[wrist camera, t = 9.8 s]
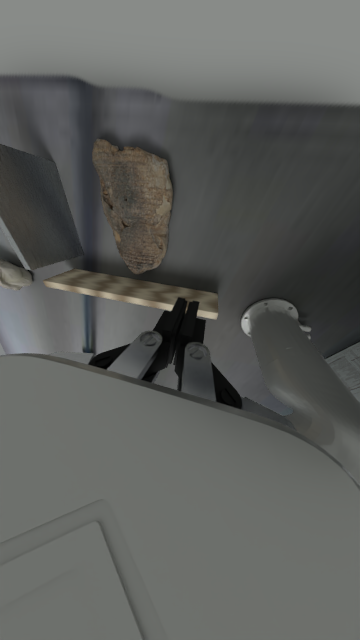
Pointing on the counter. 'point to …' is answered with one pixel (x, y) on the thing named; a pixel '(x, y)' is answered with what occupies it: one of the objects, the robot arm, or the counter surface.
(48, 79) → the counter surface
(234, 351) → the counter surface
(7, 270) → the fossil replica
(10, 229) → the bookend
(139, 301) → the shelf wall
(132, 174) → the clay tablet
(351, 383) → the supplement box
